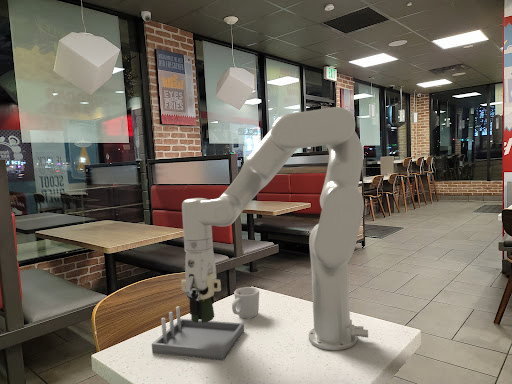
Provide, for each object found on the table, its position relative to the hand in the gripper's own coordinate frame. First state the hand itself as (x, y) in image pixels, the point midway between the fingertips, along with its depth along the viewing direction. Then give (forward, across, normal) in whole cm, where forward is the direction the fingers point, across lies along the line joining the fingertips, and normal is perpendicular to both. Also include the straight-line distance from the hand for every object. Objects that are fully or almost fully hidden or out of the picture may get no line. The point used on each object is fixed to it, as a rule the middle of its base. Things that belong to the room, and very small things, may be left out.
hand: (202, 308), depth 101 cm
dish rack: (+10, 0, +1) cm, 10 cm away
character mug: (+3, 0, 0) cm, 3 cm away
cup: (+10, +18, -6) cm, 21 cm away
